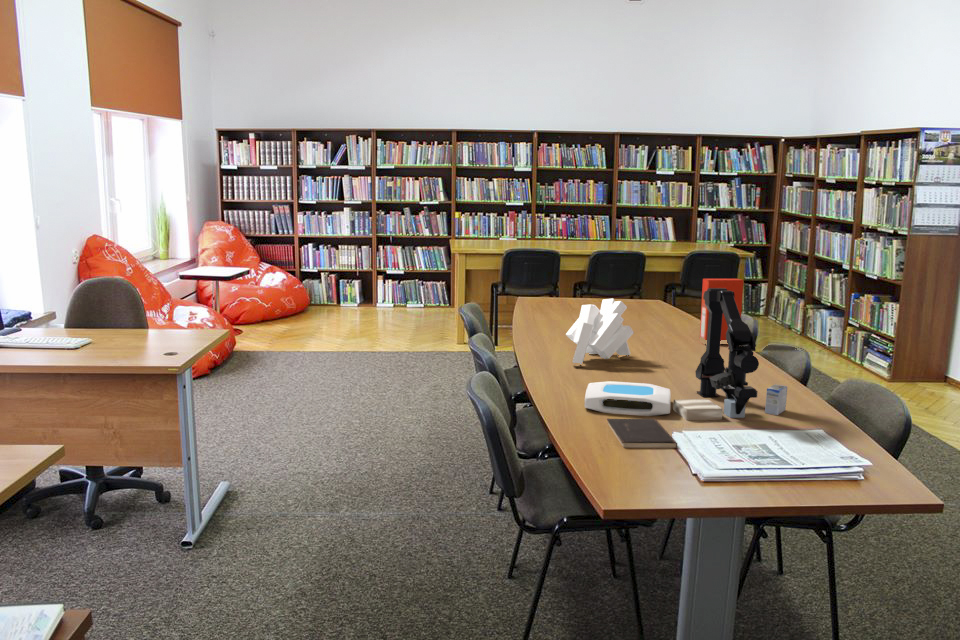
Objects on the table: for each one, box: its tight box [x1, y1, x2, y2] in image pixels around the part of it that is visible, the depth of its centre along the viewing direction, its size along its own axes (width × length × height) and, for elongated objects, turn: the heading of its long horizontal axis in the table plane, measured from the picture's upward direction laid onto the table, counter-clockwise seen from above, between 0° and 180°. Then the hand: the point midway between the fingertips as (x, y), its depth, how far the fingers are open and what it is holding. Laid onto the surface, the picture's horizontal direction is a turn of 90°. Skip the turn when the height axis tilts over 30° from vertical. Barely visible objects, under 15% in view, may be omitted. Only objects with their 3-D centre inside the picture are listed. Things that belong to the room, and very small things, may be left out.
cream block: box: [672, 398, 724, 421], centre depth 252 cm, size 12×12×4 cm
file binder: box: [699, 278, 744, 340], centre depth 373 cm, size 8×17×32 cm, turn 95°
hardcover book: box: [606, 418, 678, 449], centre depth 230 cm, size 16×23×2 cm
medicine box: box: [764, 383, 788, 416], centre depth 256 cm, size 8×4×9 cm, turn 141°
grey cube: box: [723, 398, 746, 419], centre depth 252 cm, size 5×5×5 cm
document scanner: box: [584, 380, 671, 417], centre depth 262 cm, size 21×28×6 cm
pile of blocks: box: [565, 297, 635, 365], centre depth 333 cm, size 35×30×35 cm
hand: (734, 411), depth 252 cm, fingers closed on grey cube, 5 cm apart
